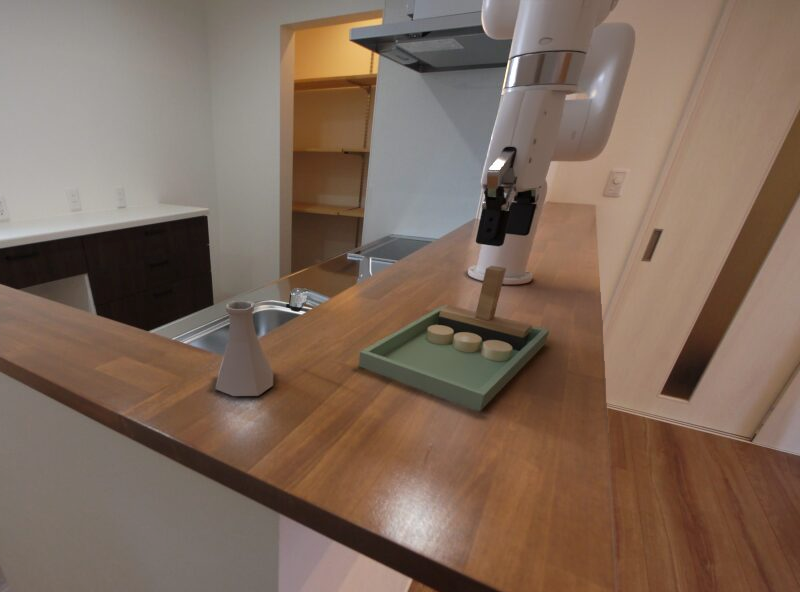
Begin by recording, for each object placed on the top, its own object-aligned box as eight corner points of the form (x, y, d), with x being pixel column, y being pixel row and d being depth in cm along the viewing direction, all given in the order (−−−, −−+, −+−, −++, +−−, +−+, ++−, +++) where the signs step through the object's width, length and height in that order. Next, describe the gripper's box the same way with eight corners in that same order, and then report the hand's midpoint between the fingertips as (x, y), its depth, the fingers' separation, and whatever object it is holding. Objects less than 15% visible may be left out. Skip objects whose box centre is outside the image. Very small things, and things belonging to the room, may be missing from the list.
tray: (440, 320, 70) (443, 304, 69) (544, 347, 61) (549, 330, 59) (358, 369, 55) (359, 351, 54) (478, 415, 46) (484, 395, 44)
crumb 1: (432, 332, 64) (434, 322, 63) (456, 338, 62) (458, 329, 61) (421, 339, 62) (423, 329, 61) (445, 346, 60) (447, 336, 59)
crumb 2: (458, 339, 62) (460, 329, 61) (483, 346, 60) (486, 336, 59) (447, 347, 59) (449, 337, 59) (473, 355, 57) (475, 344, 56)
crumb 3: (486, 347, 59) (489, 337, 59) (513, 355, 57) (516, 344, 56) (476, 355, 57) (478, 345, 56) (504, 364, 55) (507, 353, 54)
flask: (229, 366, 56) (223, 292, 51) (282, 373, 54) (281, 297, 49) (204, 393, 50) (195, 312, 45) (263, 402, 48) (259, 319, 43)
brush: (445, 323, 67) (457, 259, 62) (526, 344, 60) (547, 274, 55) (436, 328, 65) (448, 262, 60) (519, 351, 58) (540, 278, 53)
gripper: (529, 88, 55) (497, 228, 63) (476, 73, 44) (446, 245, 52) (597, 83, 50) (553, 234, 59) (557, 65, 39) (510, 254, 48)
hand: (502, 239), depth 56 cm, fingers open, 9 cm apart
